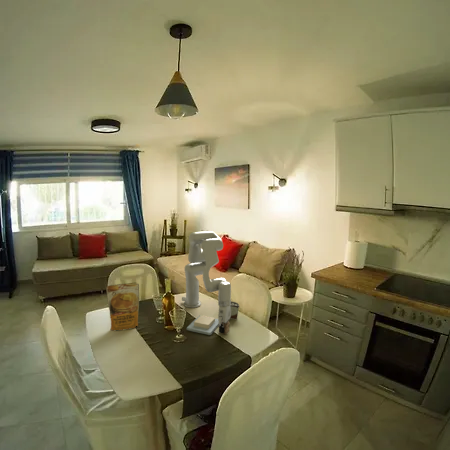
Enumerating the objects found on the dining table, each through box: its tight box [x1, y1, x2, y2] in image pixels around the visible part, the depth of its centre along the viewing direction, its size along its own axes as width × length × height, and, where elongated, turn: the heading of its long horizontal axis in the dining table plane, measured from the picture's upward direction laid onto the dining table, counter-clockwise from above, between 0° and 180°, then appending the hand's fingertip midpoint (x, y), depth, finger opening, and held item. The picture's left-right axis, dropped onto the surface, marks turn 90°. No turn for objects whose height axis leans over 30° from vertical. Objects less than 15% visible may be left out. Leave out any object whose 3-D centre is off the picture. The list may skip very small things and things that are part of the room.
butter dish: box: [186, 314, 219, 336], centre depth 182 cm, size 16×18×4 cm
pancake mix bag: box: [105, 282, 140, 331], centre depth 177 cm, size 7×19×28 cm, turn 110°
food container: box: [229, 300, 240, 320], centre depth 195 cm, size 12×6×10 cm, turn 84°
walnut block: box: [221, 320, 230, 335], centre depth 175 cm, size 5×5×6 cm
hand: (224, 329), depth 176 cm, fingers open, 7 cm apart
